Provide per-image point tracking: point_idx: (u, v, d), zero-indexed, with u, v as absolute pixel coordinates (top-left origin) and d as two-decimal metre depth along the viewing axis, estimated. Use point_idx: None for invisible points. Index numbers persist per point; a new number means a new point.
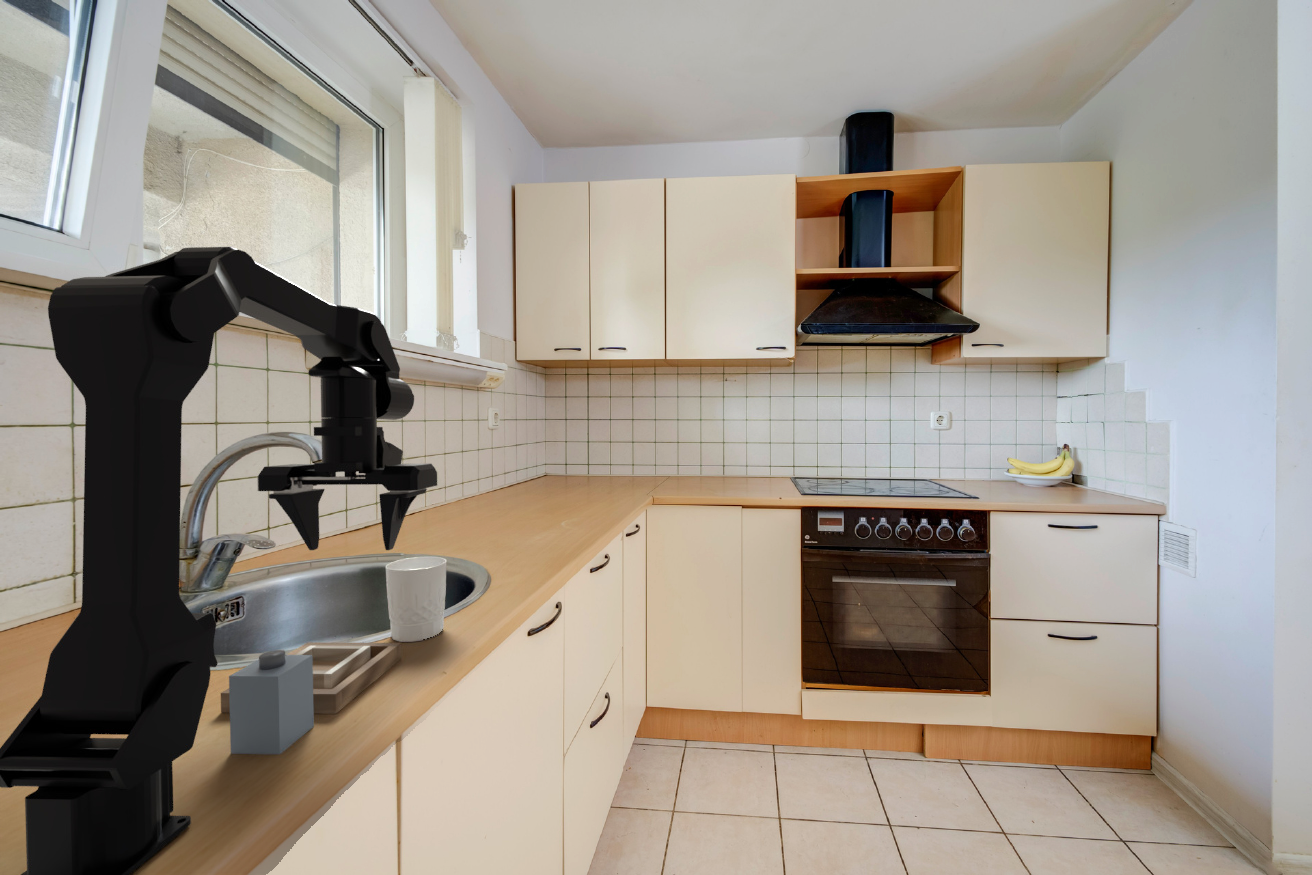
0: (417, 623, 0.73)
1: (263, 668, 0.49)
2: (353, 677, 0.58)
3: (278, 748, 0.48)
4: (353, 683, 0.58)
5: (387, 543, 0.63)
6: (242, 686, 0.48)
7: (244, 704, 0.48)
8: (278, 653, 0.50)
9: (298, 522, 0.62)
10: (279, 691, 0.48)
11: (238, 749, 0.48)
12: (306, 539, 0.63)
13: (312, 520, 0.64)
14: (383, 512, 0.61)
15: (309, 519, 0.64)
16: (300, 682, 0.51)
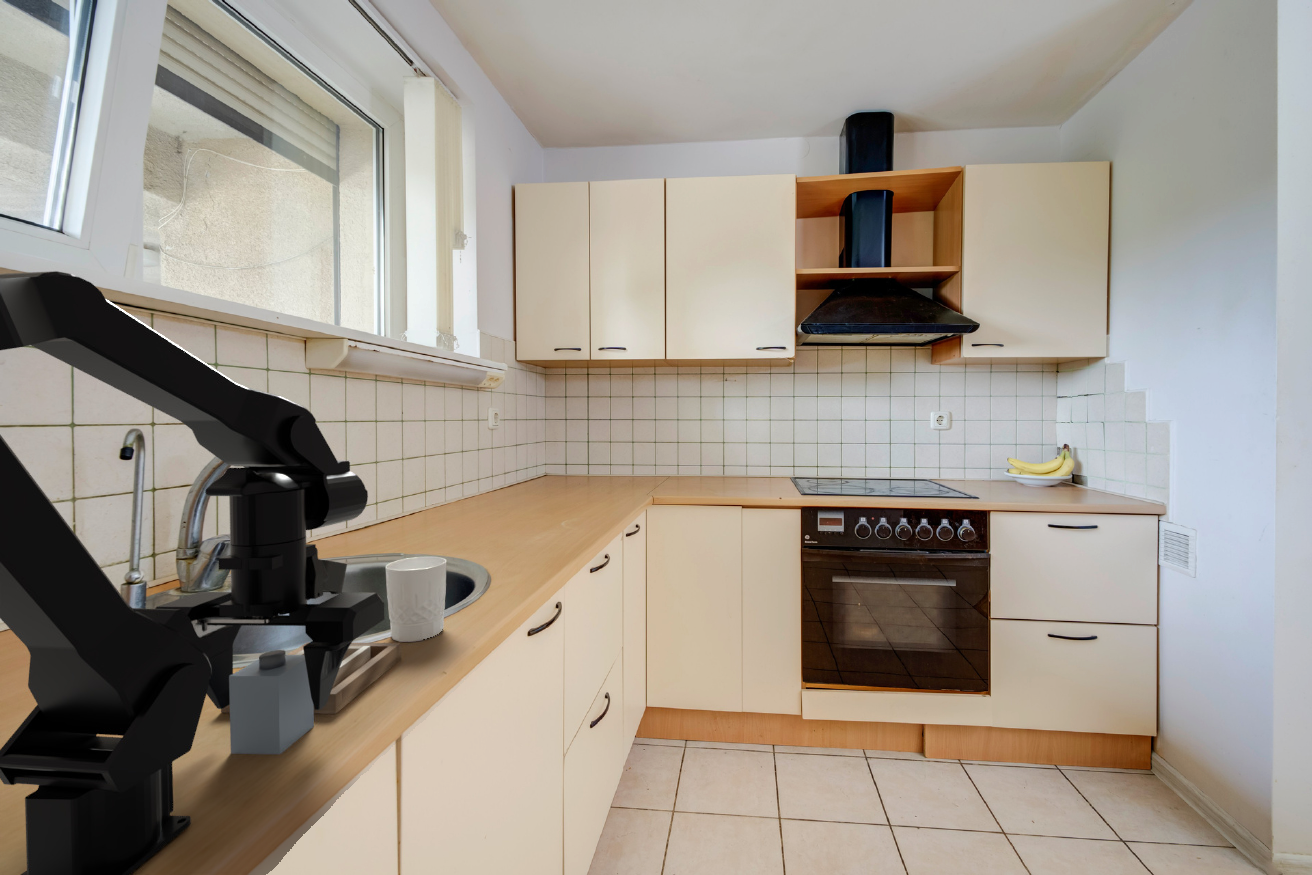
0: (417, 623, 0.73)
1: (263, 668, 0.49)
2: (353, 677, 0.58)
3: (278, 748, 0.48)
4: (353, 683, 0.58)
5: (316, 702, 0.49)
6: (242, 686, 0.48)
7: (244, 704, 0.48)
8: (278, 653, 0.50)
9: None
10: (279, 691, 0.48)
11: (238, 749, 0.48)
12: (213, 696, 0.49)
13: (223, 669, 0.50)
14: (309, 667, 0.47)
15: (217, 669, 0.50)
16: (301, 682, 0.51)
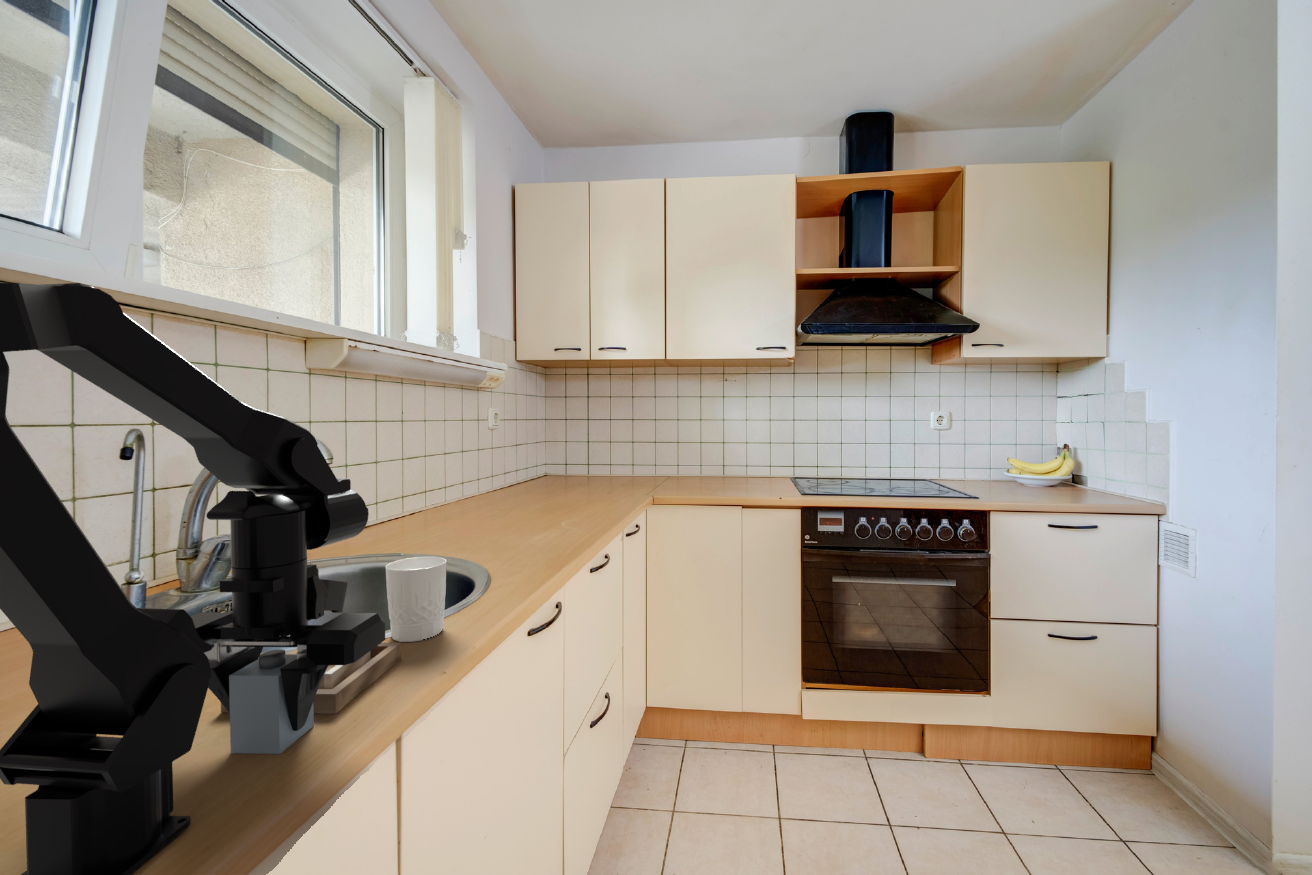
0: (417, 623, 0.73)
1: (263, 667, 0.49)
2: (353, 677, 0.58)
3: (278, 747, 0.48)
4: (353, 683, 0.58)
5: (294, 723, 0.49)
6: (242, 685, 0.48)
7: (244, 703, 0.48)
8: (278, 652, 0.50)
9: (226, 699, 0.48)
10: (279, 691, 0.48)
11: (238, 749, 0.48)
12: None
13: None
14: (286, 689, 0.48)
15: None
16: None
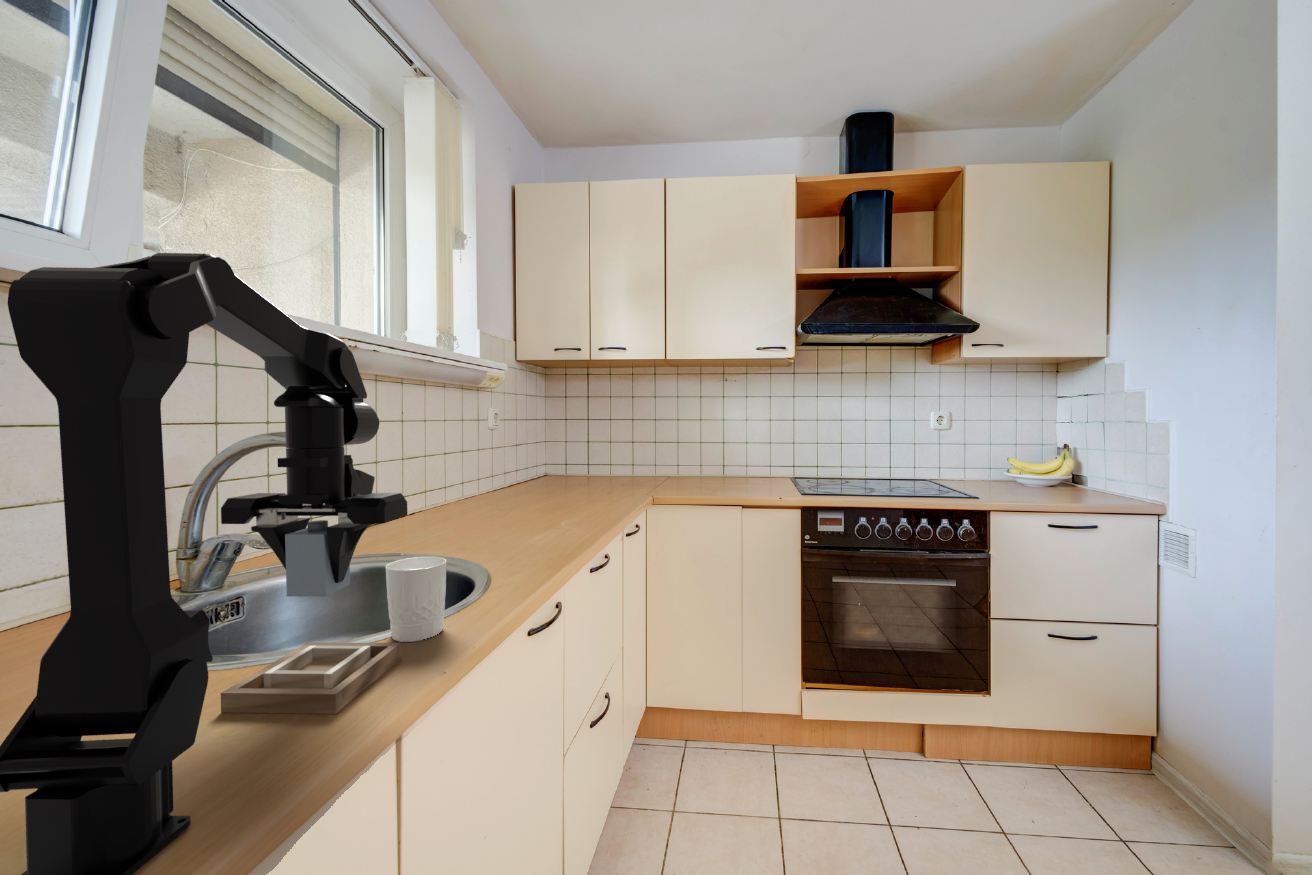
0: (417, 623, 0.73)
1: (311, 530, 0.61)
2: (353, 677, 0.58)
3: (324, 591, 0.60)
4: (353, 683, 0.58)
5: (336, 576, 0.62)
6: (295, 542, 0.60)
7: (297, 556, 0.60)
8: (322, 521, 0.63)
9: (282, 555, 0.61)
10: (324, 546, 0.60)
11: (293, 593, 0.60)
12: None
13: None
14: (330, 545, 0.60)
15: None
16: None
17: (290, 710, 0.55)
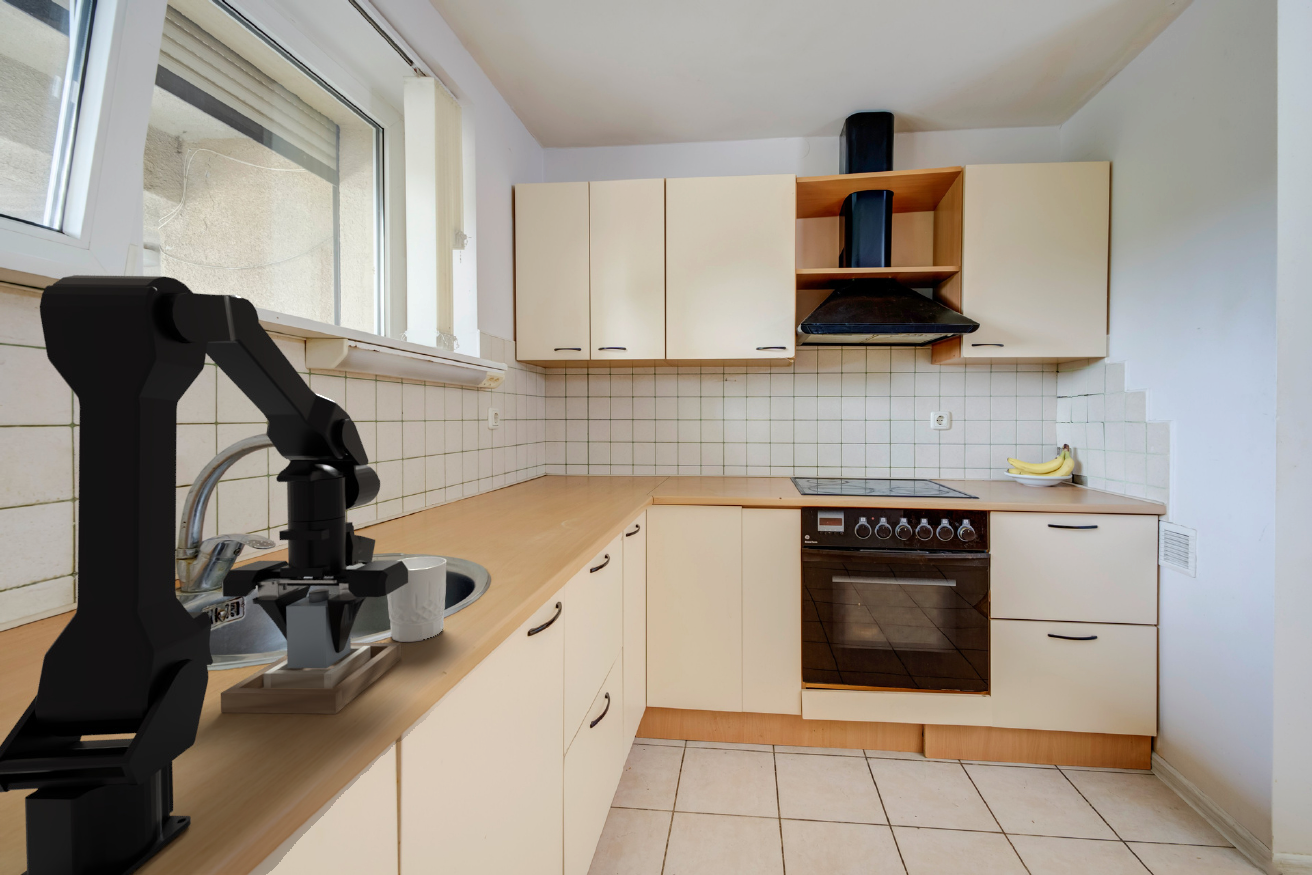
0: (417, 623, 0.73)
1: (312, 601, 0.62)
2: (353, 677, 0.58)
3: (325, 663, 0.60)
4: (353, 683, 0.58)
5: (337, 646, 0.62)
6: (296, 614, 0.60)
7: (298, 628, 0.60)
8: (323, 590, 0.63)
9: (283, 626, 0.61)
10: (326, 618, 0.60)
11: (294, 664, 0.61)
12: None
13: None
14: (331, 617, 0.60)
15: None
16: None
17: (290, 710, 0.55)
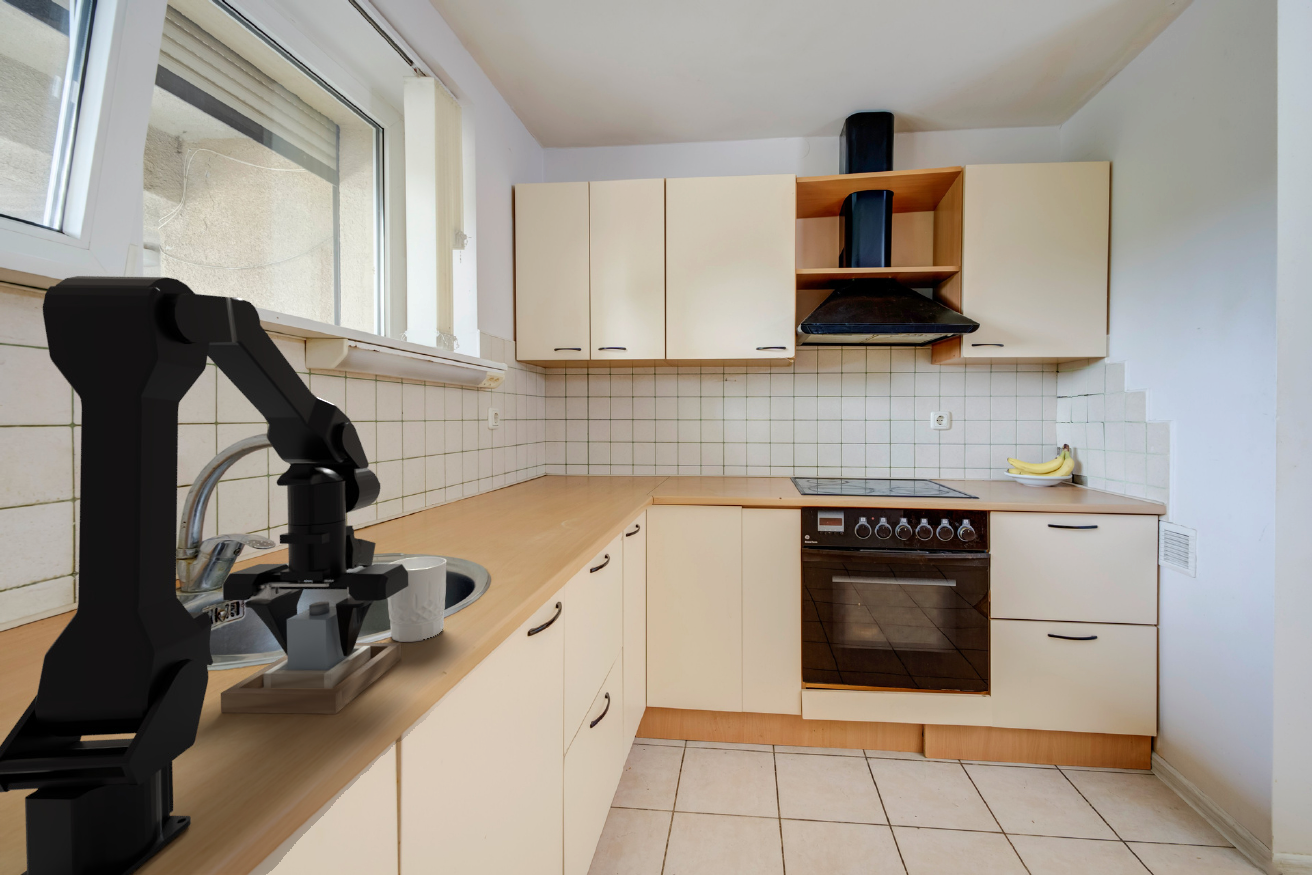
0: (417, 623, 0.73)
1: (313, 614, 0.62)
2: (353, 677, 0.58)
3: None
4: (353, 683, 0.58)
5: (345, 650, 0.62)
6: (297, 627, 0.60)
7: (299, 641, 0.60)
8: (324, 603, 0.63)
9: (275, 630, 0.61)
10: (326, 632, 0.60)
11: None
12: (284, 646, 0.62)
13: None
14: (340, 621, 0.60)
15: None
16: None
17: (290, 710, 0.55)
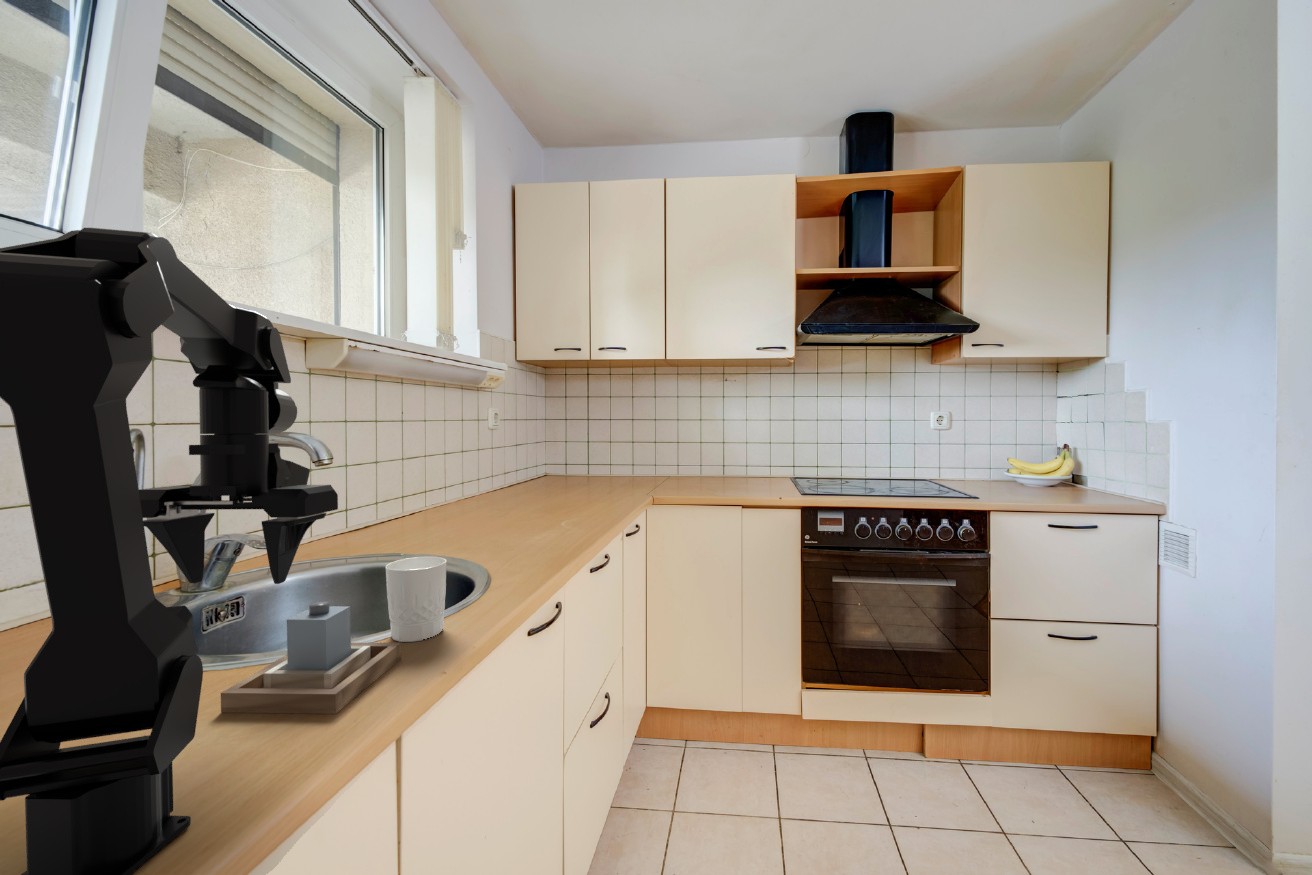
0: (417, 623, 0.73)
1: (313, 614, 0.62)
2: (353, 677, 0.58)
3: None
4: (353, 683, 0.58)
5: (275, 576, 0.55)
6: (297, 627, 0.60)
7: (299, 641, 0.60)
8: (324, 603, 0.63)
9: (174, 552, 0.55)
10: (326, 632, 0.60)
11: None
12: (186, 571, 0.56)
13: (195, 549, 0.57)
14: (267, 541, 0.54)
15: (190, 548, 0.56)
16: (341, 627, 0.63)
17: (290, 710, 0.55)
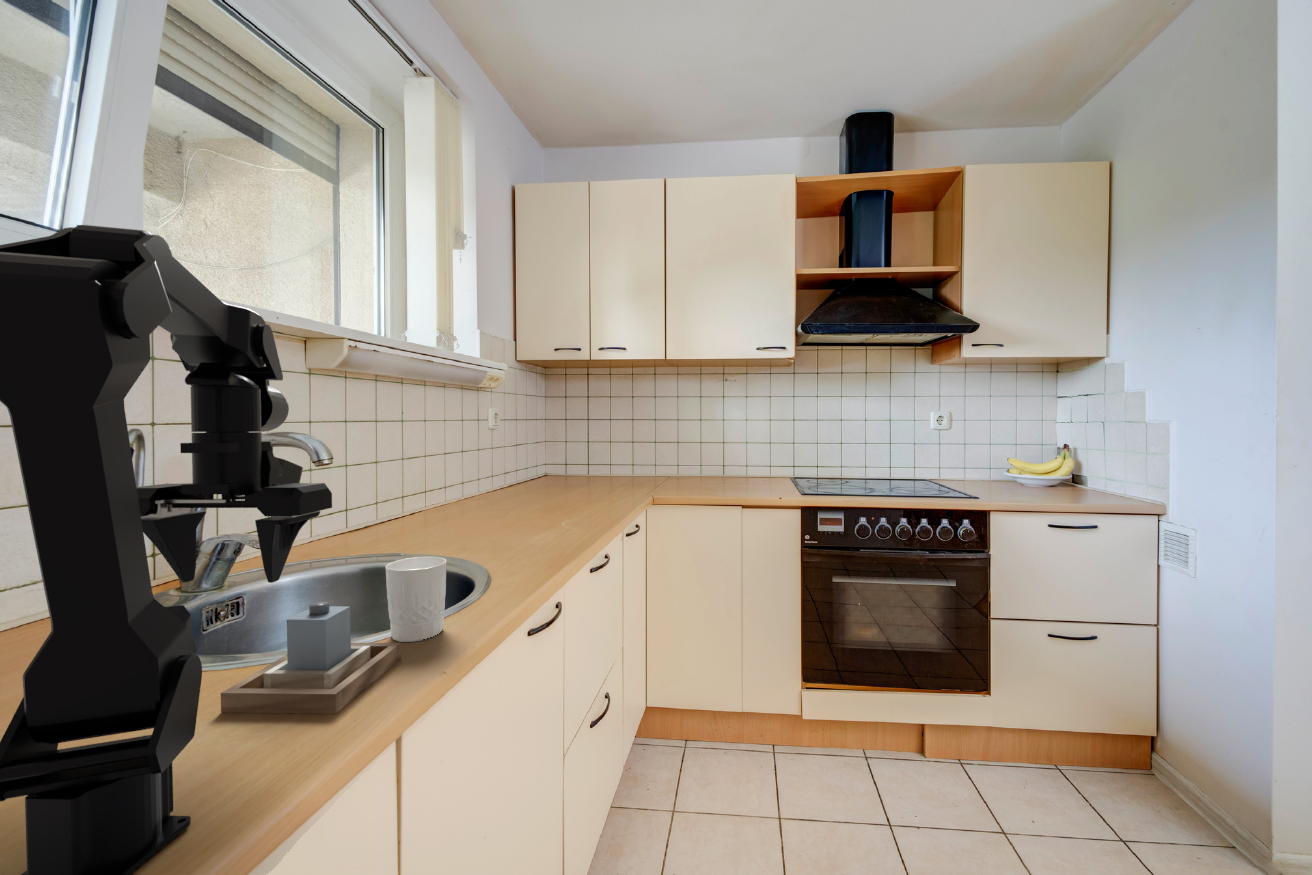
0: (417, 623, 0.73)
1: (313, 614, 0.62)
2: (353, 677, 0.58)
3: None
4: (353, 683, 0.58)
5: (269, 575, 0.55)
6: (297, 627, 0.60)
7: (299, 641, 0.60)
8: (324, 603, 0.63)
9: (166, 551, 0.55)
10: (326, 632, 0.60)
11: None
12: (177, 570, 0.56)
13: (187, 548, 0.56)
14: (261, 540, 0.54)
15: (181, 547, 0.56)
16: (341, 627, 0.63)
17: (290, 710, 0.55)
